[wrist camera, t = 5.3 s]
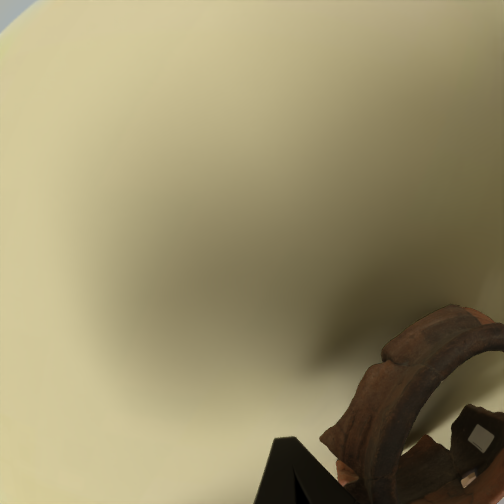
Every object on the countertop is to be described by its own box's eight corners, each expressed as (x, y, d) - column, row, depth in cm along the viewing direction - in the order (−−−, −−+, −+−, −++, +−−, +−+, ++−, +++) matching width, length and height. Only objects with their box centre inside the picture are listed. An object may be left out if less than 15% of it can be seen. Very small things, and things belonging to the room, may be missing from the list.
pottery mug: (274, 464, 13) (282, 562, 5) (339, 294, 15) (411, 241, 7) (452, 488, 11) (532, 533, 3) (502, 348, 13) (600, 334, 6)
